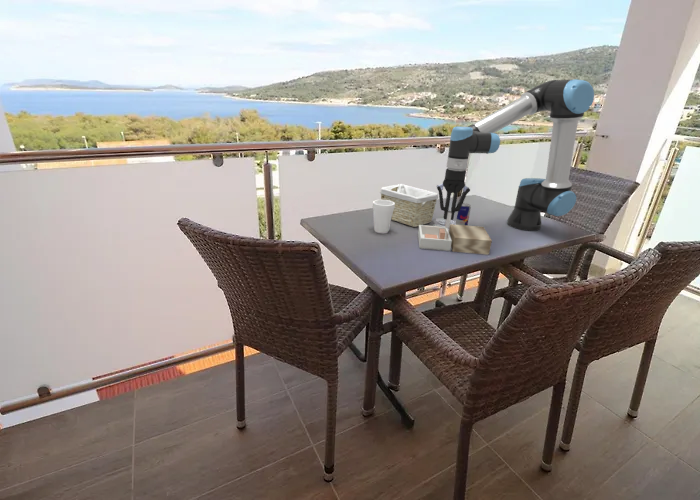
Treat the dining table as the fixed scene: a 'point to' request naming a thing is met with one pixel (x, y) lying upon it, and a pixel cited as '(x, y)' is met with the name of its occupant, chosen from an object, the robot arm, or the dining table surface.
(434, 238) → the tile
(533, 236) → the dining table surface
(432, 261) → the dining table surface
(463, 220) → the energy drink
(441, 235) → the tile
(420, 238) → the box
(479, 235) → the tan wooden block
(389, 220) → the foam cup
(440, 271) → the dining table surface
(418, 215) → the storage basket
